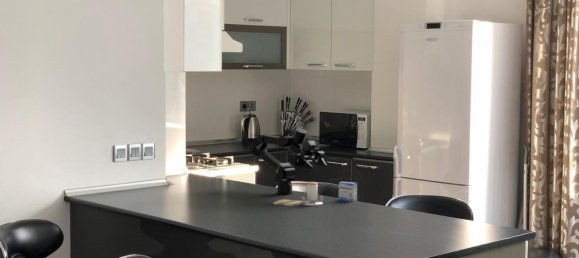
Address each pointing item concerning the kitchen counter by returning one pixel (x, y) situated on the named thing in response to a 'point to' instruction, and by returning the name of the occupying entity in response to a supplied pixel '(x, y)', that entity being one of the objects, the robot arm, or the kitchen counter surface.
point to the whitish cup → (312, 191)
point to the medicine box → (347, 191)
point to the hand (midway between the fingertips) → (319, 167)
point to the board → (287, 202)
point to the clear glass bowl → (312, 202)
